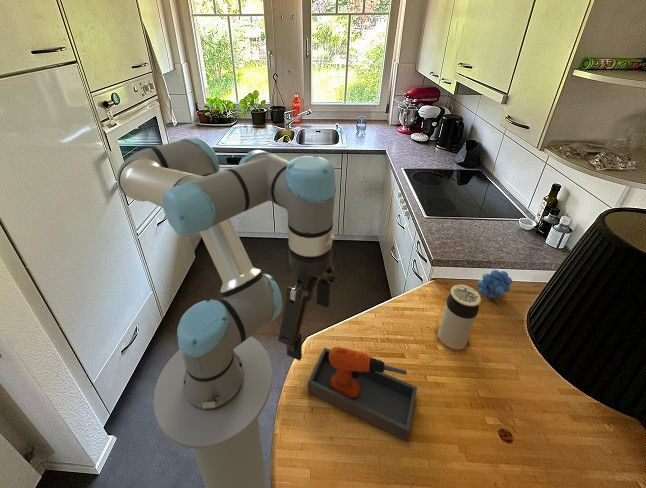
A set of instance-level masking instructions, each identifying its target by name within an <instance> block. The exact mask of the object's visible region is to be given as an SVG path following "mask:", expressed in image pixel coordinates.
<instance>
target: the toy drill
mask: <svg viewBox="0 0 646 488" xmlns="http://www.w3.org/2000/svg"><path fill="white" fill-rule="evenodd" d="M330 350H331V351H330V353H329V361H330V363H331V365H332V366H333V367H334V368H336V369H337V373H336V374H334V375H333V376H332V377H331V380H330V387H331V389H332V390H333V391H335V392H337V393H339V394H341V395H343V396H345V397H347V398H349V399H354V398H356V397H357V396H358V395H359V392H360V384H359V383H358V382H357V381H356V380H354V379H353V378H358V377H359V375H358V374H357V373H356V371H357V372H370V371H374V372H375V371H376V372H380V373H381V372H383V373H385V371H387V372H392V373H396V374H401V375H407V373H408V372H407V370H406V369H402V368H399V367H394V366H391V365H389V364H385V362H384V361H383V360H381V359H377V358H374V357H372V356H371V355H368V354H367V353H365V352H362V351H358V350H354V349H350V348H346V347H338V346H334V347H332V348H331V349H330Z"/></svg>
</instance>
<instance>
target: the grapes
mask: <svg viewBox="0 0 646 488" xmlns="http://www.w3.org/2000/svg"><path fill="white" fill-rule="evenodd" d="M481 278H482V279H479V280H478V282H477V286H478V288H479V289H478V290H479V293H480V294H481V295H483V296H486V297H487V298H489V299H494V297H498V298H501V297H503V296H504V294H505V293H507V292H510V290H511V285H512V283H513V279H512V278H511V277H510V276H509V274H508V272H507V271H505V270H500V271H499V270H497V269H492V270H491V271H490V273H487V272H485V273H483V274H482V276H481Z"/></svg>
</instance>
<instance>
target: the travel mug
mask: <svg viewBox="0 0 646 488" xmlns="http://www.w3.org/2000/svg"><path fill="white" fill-rule="evenodd" d="M479 293H480V292H478V291H477V290H476V289H474V288H473V287H471V286H468V285H466V284H456V285H453V286H452V287H451V289H450V293H449V295H447V299H446V302H445V305H444V309H443V312H442V315H441V319H440V323H439V327H438V330H437V337H438V339H439V341H440V342H441V343H442V344H443V346H445V347H447V348H449V349H452V350H456V351H457V350H462V349H464V348H466V346H467V343H468V341H469V338H470V335H471V333H472V329H473V327H474V324H475V322H476V318H477V316H478V314H479V310H480V306H479V305H480V303H481V301H482V298H481V297H482V296H481V295H480V294H479Z"/></svg>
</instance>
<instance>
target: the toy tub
mask: <svg viewBox="0 0 646 488" xmlns="http://www.w3.org/2000/svg"><path fill="white" fill-rule="evenodd" d="M330 351H331V349H329V348H327V347H324V348H323V350H322V352H321V354H320V355H319V358H318V360H317V362H316V364H315V367H314V369H313V370H312V373H311V375H310V377H309V379H308V381H307V393H308V394H309V395H312V396H314V397H316V398H317V399H320V400H322V401H324V402H326V403H328V404H330V405H331V406H334V407H335V408H337V409H340V410H342V411H344V412H345V413H348V414H350V415H352V416H354V417H355V418H357V419H360V420H361V421H363V422H365V423H367V424H370V425H372V426H374V427H375V428H378V429H380V430H381V431H383V432H385V433H388V434H390V435H391V436H394V437H396V438H397V439H400V440H402V441H404V442H407V441H408V437H409V434H410V430H411V424H412V420H413V419H412V418H413V413H414V407H415V401H416V396H417V390H418V387H417V386H415V385H414V384H411V383H408V382H407V381H404V380H401V379H399V378H396V377H394V376H393V375H390V374H387V373H385V372H381V373H380V372H376V371H375V372H374V371H370V372H357V371H356V373H357V374H358V375H359V377H358V378H353V379H354V380H356V381H357V382H358V383H359V384H360V392H359V395H358V396H357V397H356V398H354V399H349V398H347V397H345V396H343V395H341V394H339V393H337V392H335V391H333V390H332V389H331V387H330V380H331V377H332V376H333V375H334V374H336V373H337V369H336V368H334V367H333V366H332V365H331V363H330V361H329V353H330Z"/></svg>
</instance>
